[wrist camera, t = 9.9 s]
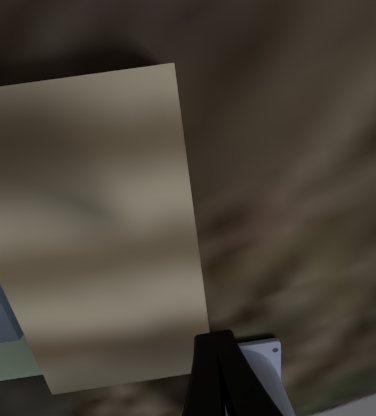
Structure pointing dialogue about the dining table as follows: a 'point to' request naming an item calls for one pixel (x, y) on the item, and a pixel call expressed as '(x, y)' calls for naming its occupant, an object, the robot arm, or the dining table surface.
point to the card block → (8, 321)
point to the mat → (17, 360)
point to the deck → (100, 227)
